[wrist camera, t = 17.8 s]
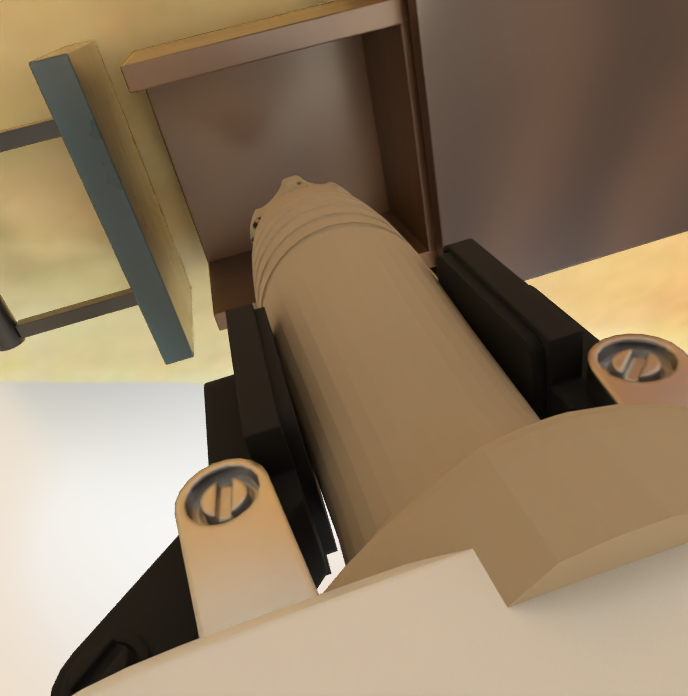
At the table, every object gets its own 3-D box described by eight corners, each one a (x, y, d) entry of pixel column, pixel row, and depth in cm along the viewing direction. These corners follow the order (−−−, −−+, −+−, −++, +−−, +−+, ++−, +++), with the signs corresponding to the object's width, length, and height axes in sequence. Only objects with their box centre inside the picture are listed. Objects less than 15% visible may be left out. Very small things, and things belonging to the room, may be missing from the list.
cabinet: (388, 234, 31) (449, 304, 24) (341, -40, 25) (408, -54, 17) (615, 168, 33) (737, 216, 26) (632, -110, 26) (805, -150, 19)
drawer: (37, 332, 29) (2, 414, 23) (-106, 88, 22) (-202, 119, 17) (401, 227, 30) (452, 279, 25) (362, -27, 24) (419, -34, 19)
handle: (208, 309, 18) (268, 956, 6) (239, 96, 16) (478, 495, 3) (351, 324, 20) (633, 864, 8) (402, 133, 17) (1002, 501, 5)
